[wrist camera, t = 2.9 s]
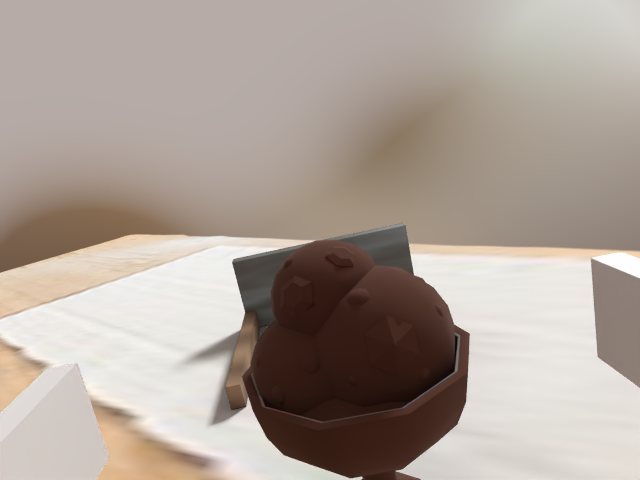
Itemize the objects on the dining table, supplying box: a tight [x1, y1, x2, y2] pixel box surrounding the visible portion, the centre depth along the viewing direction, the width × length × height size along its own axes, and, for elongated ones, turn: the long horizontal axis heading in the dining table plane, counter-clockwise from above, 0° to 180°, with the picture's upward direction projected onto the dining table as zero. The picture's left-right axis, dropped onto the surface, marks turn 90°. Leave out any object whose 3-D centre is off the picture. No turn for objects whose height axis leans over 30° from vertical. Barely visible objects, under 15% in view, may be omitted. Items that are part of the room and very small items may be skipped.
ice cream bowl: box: [242, 240, 470, 480], centre depth 23 cm, size 11×11×15 cm
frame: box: [225, 223, 414, 409], centre depth 46 cm, size 17×19×8 cm
